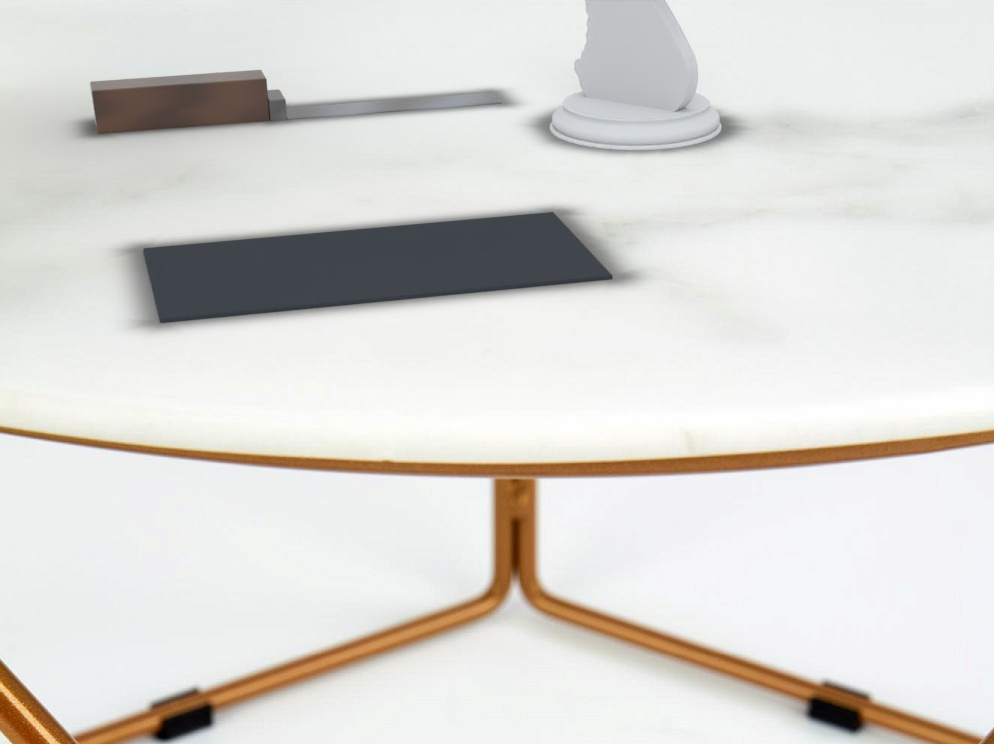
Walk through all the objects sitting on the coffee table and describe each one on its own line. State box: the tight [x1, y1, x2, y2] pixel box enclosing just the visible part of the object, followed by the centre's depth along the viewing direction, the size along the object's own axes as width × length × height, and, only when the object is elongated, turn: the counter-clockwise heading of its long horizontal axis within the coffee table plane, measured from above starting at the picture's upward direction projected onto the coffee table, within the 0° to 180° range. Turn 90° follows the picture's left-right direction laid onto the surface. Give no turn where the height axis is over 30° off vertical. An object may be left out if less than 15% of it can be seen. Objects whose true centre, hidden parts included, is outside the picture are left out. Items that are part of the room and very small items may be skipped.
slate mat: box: [143, 211, 613, 324], centre depth 79 cm, size 20×10×1 cm, turn 104°
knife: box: [89, 69, 502, 135], centre depth 102 cm, size 24×3×3 cm, turn 104°
